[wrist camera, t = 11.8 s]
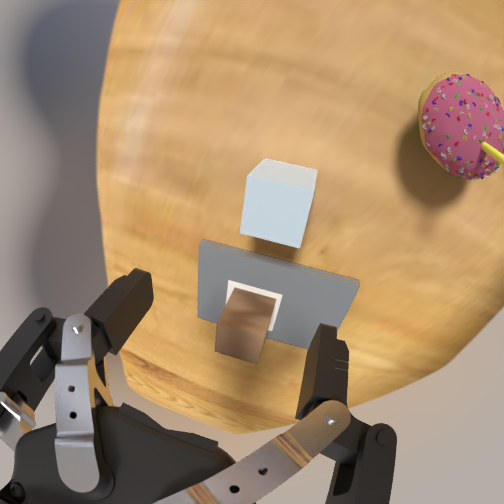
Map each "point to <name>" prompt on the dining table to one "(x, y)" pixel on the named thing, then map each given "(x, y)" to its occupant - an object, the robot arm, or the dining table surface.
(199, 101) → the dining table surface
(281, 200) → the greyblue block
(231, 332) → the walnut block
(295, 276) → the grey flat plate
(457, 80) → the cupcake
